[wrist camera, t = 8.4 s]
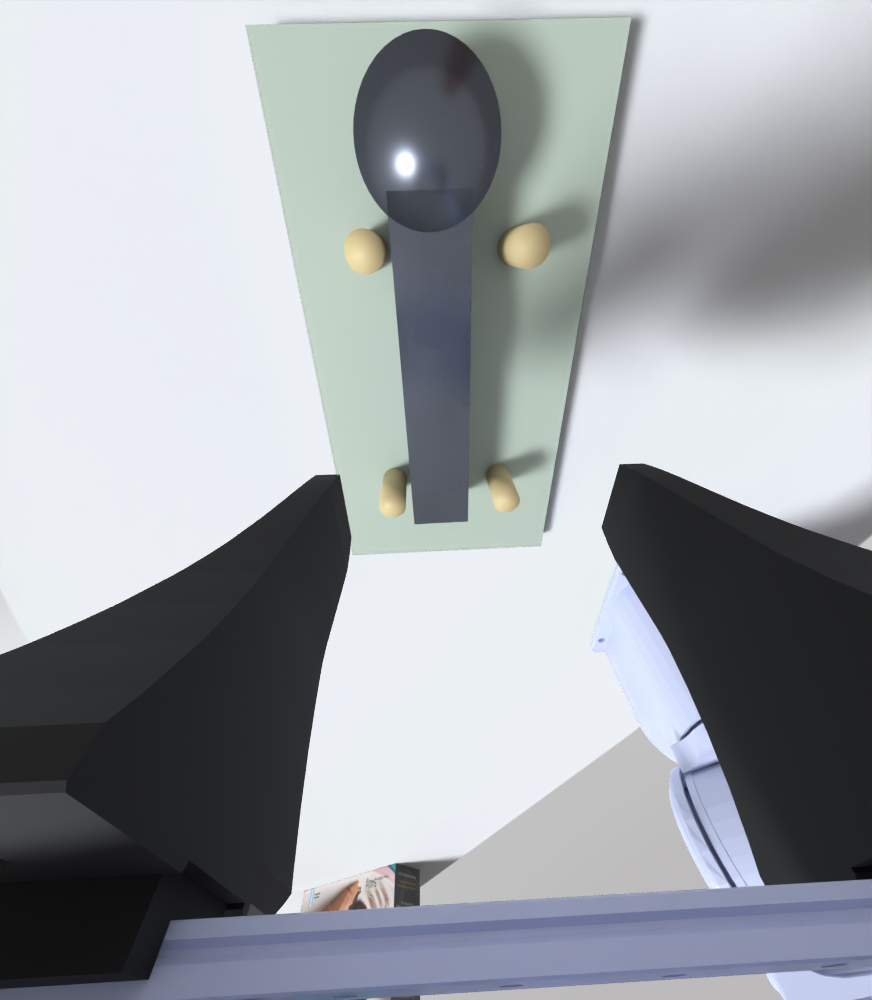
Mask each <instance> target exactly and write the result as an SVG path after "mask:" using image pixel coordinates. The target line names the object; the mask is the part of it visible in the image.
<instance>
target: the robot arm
mask: <svg viewBox="0 0 872 1000" xmlns="http://www.w3.org/2000/svg"><path fill="white" fill-rule="evenodd" d="M602 530H603V532H604V535H605V537H606V540H607V542H608V545H609V547H610V549H611V552H612V554H613V556H614V558H615V560H616V562H617V567H616V570H615V573H614V576H613V579H612V582H611V585H610V588H609V591H608V594H607V597H606V600H605V603H604V606H603V609H602V612H601V615H600V618H599V621H598V624H597V627H596V630H595V633H594V636H593V639H592V642H591V649H592V650H593V651H594V652H605V653H606V655H607V657H608V659H609V661H610V663H611V665H612V668H613V670H614V672H615V674H616V676H617V678H618V681H619V683H620V685H621V687H622V689H623V691H624V693H625V696H626V698H627V700H628V702H629V704H630V706H631V708H632V711H633V713H634V715H635V717H636V719H637V721H638V723H639V725H640V727H641V729H642V731H643V732H644V734H645V735H646V736H647V738H648V739H649V740H650V741H651V742H652V744H653V745H654V746H655V747H656V748H657V749H659V750H660V751H661V752H662V753H663V754H664V755H666V756H667V757H668V758H670V759H671V760H672V761H674V762H676V763H678V765H679V767H675V768H673V769H672V770H671V772H670V786H669V798H670V803H671V807H672V810H673V813H674V816H675V819H676V822H677V825H678V827H679V829H680V832H681V834H682V836H683V839H684V841H685V843H686V845H687V848H688V850H689V852H690V854H691V856H692V858H693V860H694V862H695V863H696V865H697V867H698V869H699V871H700V873H701V874H702V876H703V878H704V880H705V881H706V883H707V885H708V886H709V888H710V889H698V890H682V891H665V892H649V893H631V894H613V895H597V896H579V897H562V898H547V899H529V900H511V901H494V902H477V903H461V904H444V905H426V906H410V907H393V908H376V909H359V910H342V911H325V912H308V913H291V914H276V913H277V911H278V910H279V909H280V908H281V907H282V906H283V904H284V903H285V902H286V900H287V899H288V898H289V896H290V895H291V891H292V881H293V872H294V862H295V854H296V845H297V836H298V827H299V818H300V810H301V802H302V794H303V787H304V779H305V772H306V764H307V757H308V749H309V743H310V736H311V730H312V723H313V716H314V710H315V703H316V698H317V692H318V686H319V680H320V674H321V668H322V663H323V659H324V654H325V650H326V646H327V642H328V639H329V635H330V631H331V628H332V624H333V621H334V617H335V613H336V610H337V606H338V603H339V599H340V595H341V592H342V588H343V584H344V581H345V577H346V573H347V568H348V561H349V554H350V546H351V538H352V537H351V531H350V526H349V521H348V515H347V510H346V505H345V499H344V494H343V489H342V483H341V478H340V474H338V475H316V476H314V477H313V478H311V479H310V480H308V481H307V482H306V483H305V484H303V485H302V486H301V487H299V488H298V489H297V490H296V491H295V492H293V493H292V494H291V495H290V496H288V497H287V498H286V499H285V500H283V501H282V502H281V503H280V504H278V505H277V506H276V507H275V508H273V509H272V510H271V511H270V512H268V513H267V514H266V515H264V516H263V517H262V518H260V519H259V520H258V521H256V522H255V523H254V524H252V525H251V526H249V527H248V528H247V529H245V530H244V531H242V532H241V533H240V534H238V535H237V536H236V537H234V538H233V539H231V540H230V541H229V542H227V543H226V544H224V545H223V546H221V547H220V548H218V549H216V550H215V551H213V552H212V553H210V554H209V555H207V556H205V557H204V558H202V559H200V560H199V561H197V562H195V563H194V564H192V565H190V566H189V567H187V568H185V569H184V570H182V571H180V572H178V573H176V574H175V575H173V576H171V577H169V578H167V579H165V580H163V581H161V582H159V583H158V584H156V585H154V586H152V587H150V588H148V589H146V590H144V591H142V592H140V593H138V594H136V595H134V596H133V597H131V598H129V599H127V600H125V601H123V602H121V603H119V604H117V605H115V606H113V607H110V608H108V609H106V610H104V611H102V612H100V613H97V614H95V615H93V616H91V617H89V618H87V619H85V620H82V621H80V622H78V623H75V624H73V625H71V626H69V627H66V628H64V629H62V630H59V631H57V632H55V633H53V634H50V635H48V636H46V637H43V638H41V639H38V640H36V641H34V642H31V643H29V644H26V645H24V646H22V647H19V648H17V649H14V650H11V651H9V652H6V653H4V654H1V655H0V1000H357V999H372V998H388V997H404V996H419V995H435V994H449V993H467V992H481V991H498V990H512V989H513V990H514V989H529V988H543V987H559V986H576V985H592V984H607V983H624V982H639V981H654V980H670V979H686V978H702V977H717V976H733V975H747V974H748V975H749V974H763V973H764V974H766V976H767V977H768V979H769V981H770V983H771V984H772V986H773V987H774V988H775V989H776V990H777V991H778V992H779V993H780V994H781V996H782V997H783V999H784V1000H872V551H871V550H868V549H864V548H861V547H858V546H855V545H851V544H848V543H845V542H842V541H839V540H837V539H834V538H831V537H828V536H825V535H822V534H819V533H816V532H813V531H810V530H807V529H804V528H801V527H799V526H796V525H793V524H790V523H788V522H785V521H783V520H780V519H778V518H775V517H773V516H770V515H767V514H765V513H762V512H760V511H757V510H755V509H752V508H750V507H748V506H745V505H743V504H740V503H738V502H736V501H733V500H731V499H729V498H726V497H724V496H722V495H719V494H717V493H715V492H712V491H710V490H708V489H706V488H703V487H701V486H699V485H697V484H694V483H692V482H690V481H687V480H685V479H683V478H681V477H678V476H676V475H673V474H671V473H669V472H666V471H664V470H661V469H658V468H656V467H653V466H649V465H646V464H620V465H619V468H618V472H617V475H616V479H615V482H614V486H613V489H612V493H611V496H610V500H609V503H608V507H607V510H606V514H605V517H604V521H603V524H602Z"/></svg>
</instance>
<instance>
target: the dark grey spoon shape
mask: <svg viewBox="0 0 872 1000" xmlns="http://www.w3.org/2000/svg"><path fill="white" fill-rule="evenodd" d="M353 137H354V148H355V154H356V159H357V163H358V166H359V170H360V173H361V175H362V178H363V181H364V183H365V185H366V187H367V189H368V191H369V193H370V194H371V196H372V198H373V199H374V201H375V202H376V203H377V205H378V206H379V207H380V208H381V209H382V211H383V212H384V213H385V214H386V215H387V216H388V222H389V234H390V245H391V257H392V269H393V280H394V292H395V304H396V315H397V327H398V339H399V350H400V362H401V374H402V385H403V397H404V409H405V421H406V432H407V444H408V456H409V467H410V479H411V491H412V502H413V514H414V524H431V523H450V522H468V491H469V427H470V363H471V298H472V234H473V212H474V210H475V209H476V208H477V207H478V206H479V204H480V203H481V202H482V200H483V199H484V197H485V195H486V194H487V192H488V190H489V188H490V186H491V183H492V181H493V178H494V176H495V173H496V169H497V166H498V161H499V156H500V150H501V116H500V109H499V104H498V99H497V96H496V92H495V89H494V86H493V84H492V81H491V79H490V77H489V74H488V73H487V71H486V69H485V67H484V66H483V64H482V62H481V61H480V60H479V58H478V57H477V56H476V54H475V53H474V52H473V51H472V50H471V49H470V48H469V47H468V46H467V45H466V44H465V43H463V42H462V41H460V40H459V39H458V38H456V37H454V36H452V35H450V34H448V33H446V32H443V31H439V30H435V29H418V30H412V31H409V32H406V33H403V34H401V35H400V36H398V37H396V38H394V39H393V40H391V41H390V42H389V43H388V44H387V45H385V46H384V47H383V48H382V49H381V51H380V52H379V53H378V54H377V55H376V56H375V58H374V59H373V61H372V62H371V64H370V65H369V67H368V69H367V71H366V73H365V75H364V77H363V79H362V82H361V85H360V88H359V91H358V95H357V99H356V103H355V110H354V118H353Z"/></svg>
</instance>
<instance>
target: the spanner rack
mask: <svg viewBox="0 0 872 1000" xmlns="http://www.w3.org/2000/svg"><path fill="white" fill-rule="evenodd" d="M630 22H631V17H612V18H563V19H513V20H464V21H415V22H366V23H317V24H267V25H246V30H247V35H248V40H249V45H250V50H251V55H252V60H253V65H254V70H255V75H256V80H257V84H258V89H259V94H260V99H261V104H262V109H263V114H264V119H265V124H266V129H267V134H268V139H269V144H270V149H271V154H272V159H273V164H274V169H275V173H276V178H277V183H278V188H279V193H280V198H281V203H282V208H283V213H284V218H285V223H286V228H287V233H288V238H289V243H290V248H291V253H292V257H293V262H294V267H295V272H296V277H297V282H298V287H299V292H300V297H301V302H302V307H303V312H304V317H305V322H306V327H307V332H308V337H309V342H310V346H311V351H312V356H313V361H314V366H315V371H316V376H317V381H318V386H319V391H320V396H321V401H322V406H323V411H324V416H325V421H326V426H327V430H328V435H329V440H330V445H331V450H332V455H333V460H334V465H335V470H336V475H338V474H340V478H341V483H342V489H343V494H344V499H345V505H346V510H347V515H348V521H349V526H350V531H351V537H352V538H351V549H352V554H353V555H364V554H385V553H406V552H427V551H448V550H469V549H489V548H510V547H531V546H541V542H542V537H543V531H544V525H545V519H546V513H547V507H548V501H549V496H550V490H551V484H552V478H553V472H554V466H555V461H556V455H557V449H558V443H559V437H560V431H561V426H562V420H563V414H564V408H565V402H566V396H567V390H568V385H569V379H570V373H571V367H572V361H573V355H574V350H575V344H576V338H577V332H578V326H579V320H580V315H581V309H582V303H583V297H584V291H585V285H586V279H587V274H588V268H589V262H590V256H591V250H592V244H593V239H594V233H595V227H596V221H597V215H598V209H599V204H600V198H601V192H602V186H603V180H604V174H605V168H606V163H607V157H608V151H609V145H610V139H611V133H612V128H613V122H614V116H615V110H616V104H617V98H618V93H619V87H620V81H621V75H622V69H623V63H624V57H625V52H626V46H627V40H628V34H629V28H630ZM418 29H435V30H439V31H443V32H446V33H448V34H450V35H452V36H454V37H456V38H458V39H459V40H460V41H462V42H463V43H465V44H466V45H467V46H468V47H469V48H470V49H471V50H472V51H473V52H474V53H475V54H476V56H477V57H478V58H479V60H480V61H481V62H482V64H483V66H484V67H485V69H486V71H487V73H488V74H489V77H490V79H491V81H492V84H493V86H494V89H495V92H496V96H497V99H498V104H499V109H500V116H501V150H500V156H499V161H498V166H497V169H496V173H495V176H494V178H493V181H492V183H491V186H490V188H489V190H488V192H487V194H486V195H485V197H484V199H483V200H482V202H481V203H480V204H479V206H478V207H477V208H476V209H475V210H474V212H473V234H472V298H471V363H470V427H469V491H468V522H450V523H431V524H414V514H413V502H412V491H411V479H410V467H409V456H408V444H407V432H406V421H405V409H404V397H403V385H402V374H401V362H400V350H399V339H398V327H397V315H396V304H395V292H394V280H393V269H392V257H391V245H390V234H389V222H388V216H387V215H386V214H385V213H384V212H383V211H382V209H381V208H380V207H379V206H378V205H377V203H376V202H375V201H374V199H373V198H372V196H371V194H370V193H369V191H368V189H367V187H366V185H365V183H364V181H363V178H362V175H361V173H360V170H359V166H358V163H357V159H356V154H355V148H354V137H353V118H354V110H355V103H356V99H357V95H358V91H359V88H360V85H361V82H362V79H363V77H364V75H365V73H366V71H367V69H368V67H369V65H370V64H371V62H372V61H373V59H374V58H375V56H376V55H377V54H378V53H379V52H380V51H381V49H382V48H383V47H384V46H385V45H387V44H388V43H389V42H390V41H391V40H393V39H394V38H396V37H398V36H400V35H401V34H403V33H406V32H409V31H412V30H418Z"/></svg>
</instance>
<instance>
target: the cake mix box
mask: <svg viewBox="0 0 872 1000" xmlns="http://www.w3.org/2000/svg"><path fill="white" fill-rule="evenodd" d="M410 906H420V870H417V869H413V868H410V867H406V866H403V865H399V864H396V863H395V864H392V865H389V866H385V867H382V868H379V869H375V870H372V871H369V872H365V873H362V874H359V875H355V876H352V877H349V878H345V879H342V880H339V881H335V882H332V883H329V884H325V885H322V886H319V887H315V888H312V889H309V890H305V891H304V896H303V902H302V907H301V913H308V912H325V911H342V910H359V909H376V908H393V907H410ZM357 1000H420V995H419V996H404V997H388V998H372V999H357Z"/></svg>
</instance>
